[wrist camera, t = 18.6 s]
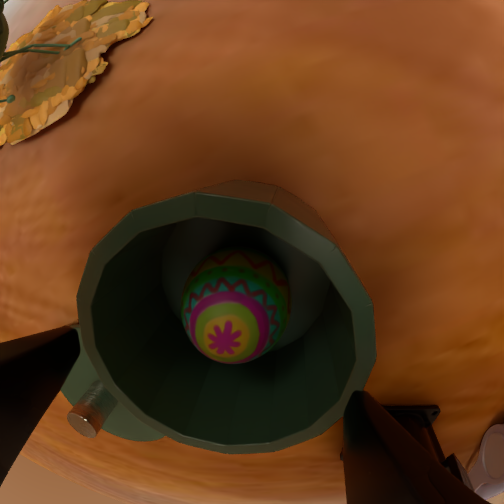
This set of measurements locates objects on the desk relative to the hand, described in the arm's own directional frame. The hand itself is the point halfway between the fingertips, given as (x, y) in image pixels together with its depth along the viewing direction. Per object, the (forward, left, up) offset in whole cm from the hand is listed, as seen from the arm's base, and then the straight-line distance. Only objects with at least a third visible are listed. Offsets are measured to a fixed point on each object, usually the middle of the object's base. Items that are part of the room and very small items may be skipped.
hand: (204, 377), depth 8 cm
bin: (0, 0, -8) cm, 8 cm away
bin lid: (+9, +11, -8) cm, 16 cm away
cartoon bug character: (+16, -11, -9) cm, 21 cm away
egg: (0, 0, -8) cm, 8 cm away
